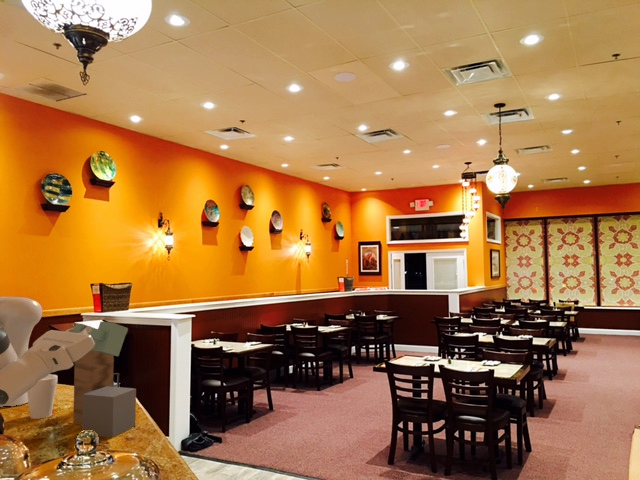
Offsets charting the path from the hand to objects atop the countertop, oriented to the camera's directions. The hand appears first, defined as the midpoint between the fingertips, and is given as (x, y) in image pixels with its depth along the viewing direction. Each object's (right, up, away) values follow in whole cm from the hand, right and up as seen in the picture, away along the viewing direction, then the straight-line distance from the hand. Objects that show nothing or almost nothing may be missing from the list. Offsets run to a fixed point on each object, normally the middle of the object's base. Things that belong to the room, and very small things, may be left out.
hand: (85, 327), depth 158 cm
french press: (-8, -34, +31) cm, 47 cm away
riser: (+4, -33, +7) cm, 34 cm away
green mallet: (+2, -7, +3) cm, 8 cm away
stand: (-5, -34, +16) cm, 37 cm away
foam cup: (-25, -34, +21) cm, 47 cm away
